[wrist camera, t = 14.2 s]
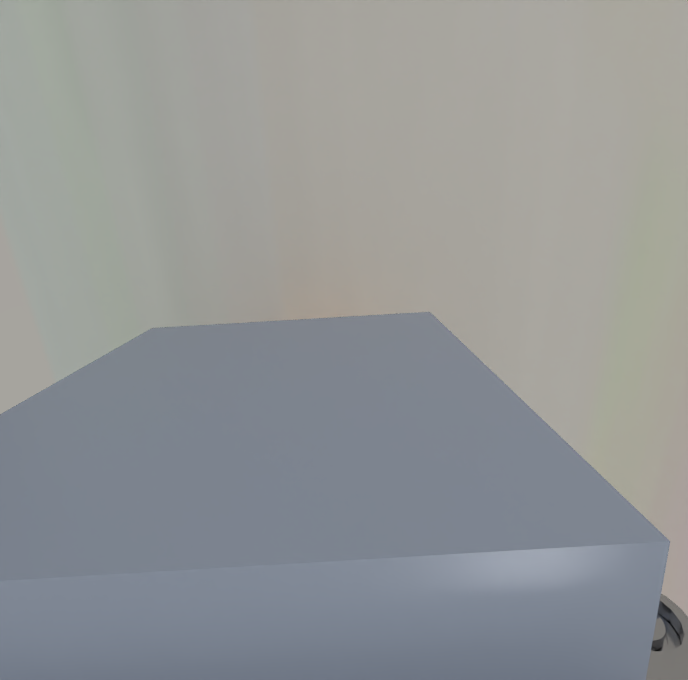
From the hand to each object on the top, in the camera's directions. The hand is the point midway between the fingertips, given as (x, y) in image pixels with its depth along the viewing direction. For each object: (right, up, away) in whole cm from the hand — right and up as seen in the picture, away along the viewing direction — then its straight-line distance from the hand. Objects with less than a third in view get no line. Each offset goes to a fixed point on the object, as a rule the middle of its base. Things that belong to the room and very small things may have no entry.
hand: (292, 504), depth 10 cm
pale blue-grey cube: (0, +1, +3) cm, 3 cm away
